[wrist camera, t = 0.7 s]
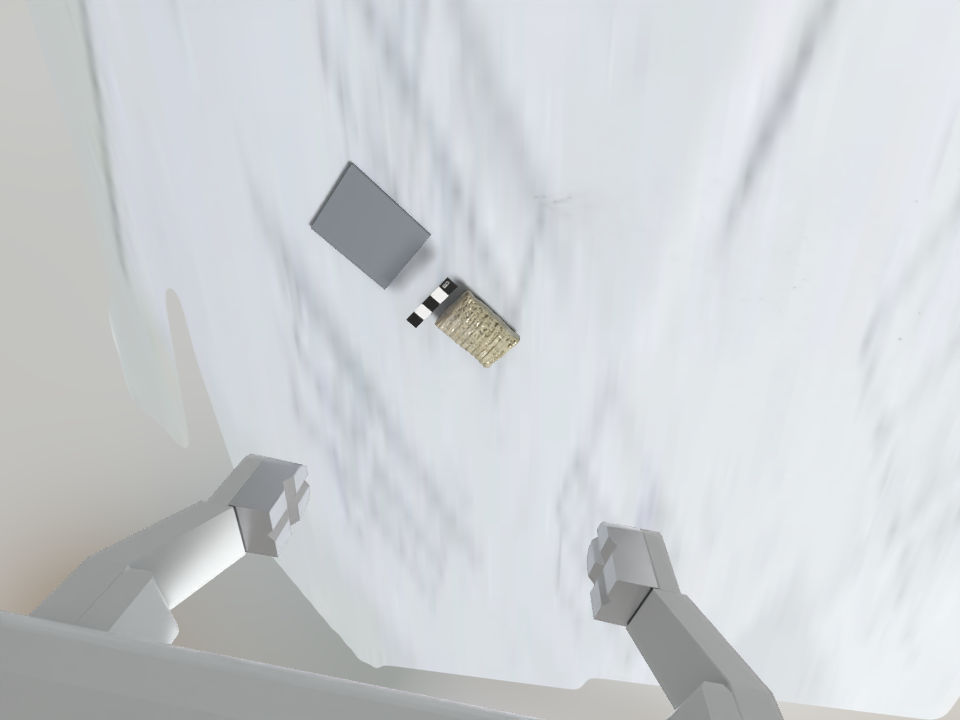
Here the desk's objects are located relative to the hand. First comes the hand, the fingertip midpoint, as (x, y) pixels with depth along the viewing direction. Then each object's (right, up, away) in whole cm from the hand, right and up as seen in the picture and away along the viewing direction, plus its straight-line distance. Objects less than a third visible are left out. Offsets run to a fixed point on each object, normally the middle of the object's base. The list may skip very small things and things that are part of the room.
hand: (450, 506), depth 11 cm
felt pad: (-11, +19, +34) cm, 40 cm away
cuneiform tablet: (-5, +12, +35) cm, 37 cm away
